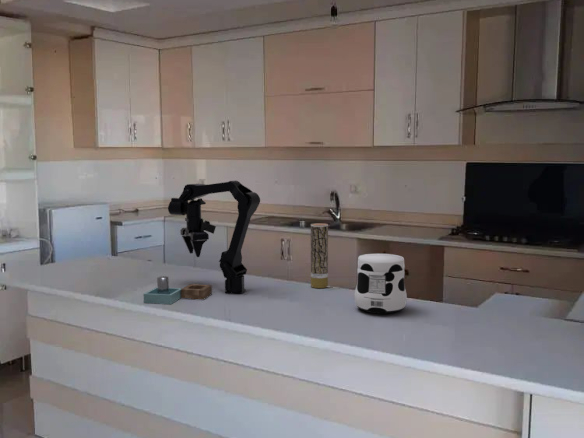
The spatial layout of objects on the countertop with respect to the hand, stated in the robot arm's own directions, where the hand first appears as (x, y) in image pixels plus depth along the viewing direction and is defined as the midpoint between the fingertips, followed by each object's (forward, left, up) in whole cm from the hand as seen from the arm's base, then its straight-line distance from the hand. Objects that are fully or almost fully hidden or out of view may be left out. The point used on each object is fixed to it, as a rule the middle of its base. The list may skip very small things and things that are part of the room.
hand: (194, 255), depth 223 cm
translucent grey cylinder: (+4, +21, -12) cm, 24 cm away
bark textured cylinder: (-48, -11, -13) cm, 51 cm away
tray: (+4, +21, -13) cm, 25 cm away
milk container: (-74, +18, -13) cm, 77 cm away
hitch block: (-6, +14, -13) cm, 20 cm away
